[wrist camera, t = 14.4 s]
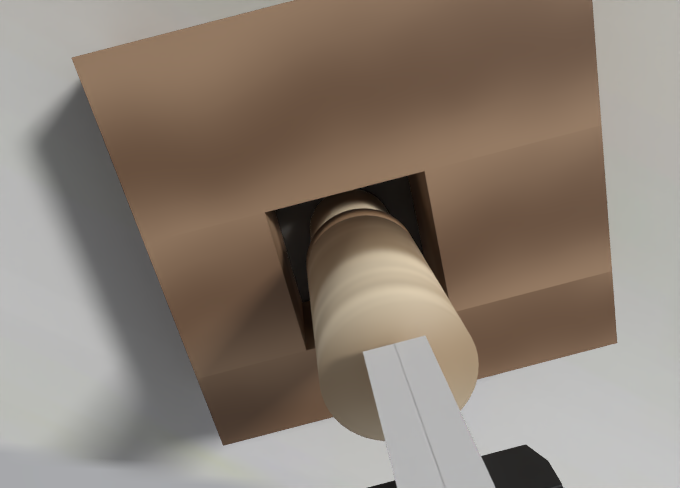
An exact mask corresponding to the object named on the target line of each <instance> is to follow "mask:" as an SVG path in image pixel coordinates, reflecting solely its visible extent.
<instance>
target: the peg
mask: <svg viewBox="0 0 680 488" xmlns="http://www.w3.org/2000/svg"><path fill="white" fill-rule="evenodd" d="M310 238H311V242H310V244H309V247H308V251H307V256H306V268H307V277H308V286H309V295H310V304H311V313H312V322H313V331H314V339H315V348H316V357H317V366H318V375H319V384H320V390H321V394H322V398H323V400H324V403H325V405H326V407H327V408H328V410H329V412H330V413H331V414H332V415H333V417H334V418H335V419H336V420H337V421H338V422H339V423H340V424H341V425H343V426H344V427H345V428H347V429H348V430H350V431H352V432H354V433H356V434H358V435H360V436H363V437H366V438H370V439H374V440H380V441H385V438H384V434H383V430H382V426H381V422H380V418H379V414H378V410H377V406H376V402H375V398H374V394H373V390H372V386H371V382H370V378H369V374H368V370H367V367H366V363H365V359H364V355H363V352H364V351H368V350H371V349H375V348H379V347H383V346H387V345H391V344H394V343H398V342H402V341H406V340H410V339H414V338H418V337H421V336H426V338H427V340H428V342H429V344H430V346H431V349H432V351H433V353H434V355H435V357H436V359H437V362H438V364H439V366H440V368H441V370H442V372H443V375H444V377H445V379H446V381H447V383H448V386H449V388H450V390H451V392H452V394H453V396H454V399H455V401H456V403H457V405H458V407H459V409H460V410H461V409H462V408H463V407H464V406H465V404H466V403H467V401H468V400H469V398H470V396H471V394H472V392H473V390H474V387H475V384H476V381H477V376H478V367H479V362H478V354H477V350H476V346H475V344H474V342H473V339H472V337H471V336H470V334H469V332H468V331H467V329H466V327H465V326H464V324H463V322H462V321H461V319H460V317H459V316H458V314H457V312H456V311H455V309H454V307H453V305H452V304H451V302H450V300H449V299H448V297H447V295H446V294H445V292H444V290H443V289H442V287H441V285H440V284H439V282H438V280H437V279H436V277H435V275H434V274H433V272H432V270H431V269H430V267H429V265H428V264H427V262H426V260H425V259H424V257H423V255H422V254H421V252H420V250H419V249H418V247H417V245H416V244H415V242H414V240H413V239H412V237H411V235H410V234H409V232H408V230H407V229H406V228H405V226H404V225H403V224H402V223H401V222H400V221H399V220H397V219H396V218H394V217H393V216H391V215H390V214H389V213H388V211H387V209H386V207H385V206H384V204H383V203H382V202H381V201H380V200H379V199H378V198H377V197H376V196H374V195H373V194H371V193H369V192H367V191H364V190H360V189H354V190H350V191H346V192H342V193H338V194H334V195H330V196H327V197H325V198H324V199H323V200H322V201H321V202H320V203H319V204H318V205H317V207H316V208H315V210H314V212H313V214H312V217H311V220H310Z"/></svg>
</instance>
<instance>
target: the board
mask: <svg viewBox="0 0 680 488" xmlns="http://www.w3.org/2000/svg"><path fill="white" fill-rule="evenodd" d="M72 60H73V63H74V65H75V68H76V70H77V73H78V76H79V78H80V81H81V83H82V86H83V88H84V91H85V93H86V96H87V99H88V101H89V104H90V106H91V109H92V111H93V114H94V116H95V119H96V122H97V124H98V127H99V129H100V132H101V134H102V137H103V139H104V142H105V145H106V147H107V150H108V152H109V155H110V157H111V160H112V162H113V165H114V168H115V170H116V173H117V175H118V178H119V180H120V183H121V186H122V188H123V191H124V193H125V196H126V198H127V201H128V203H129V206H130V209H131V211H132V214H133V216H134V219H135V221H136V224H137V226H138V229H139V232H140V234H141V237H142V239H143V242H144V244H145V247H146V249H147V252H148V255H149V257H150V260H151V262H152V265H153V267H154V270H155V272H156V275H157V278H158V280H159V283H160V285H161V288H162V290H163V293H164V295H165V298H166V301H167V303H168V306H169V308H170V311H171V313H172V316H173V318H174V321H175V324H176V326H177V329H178V331H179V334H180V336H181V339H182V341H183V344H184V347H185V349H186V352H187V354H188V357H189V359H190V362H191V364H192V367H193V370H194V372H195V375H196V377H197V380H198V382H199V385H200V387H201V390H202V393H203V395H204V398H205V400H206V403H207V405H208V408H209V410H210V413H211V416H212V418H213V421H214V423H215V426H216V428H217V431H218V433H219V436H220V439H221V441H222V444H223V446H224V445H228V444H231V443H235V442H239V441H243V440H247V439H251V438H254V437H258V436H262V435H266V434H270V433H274V432H277V431H281V430H285V429H289V428H293V427H297V426H300V425H304V424H308V423H312V422H316V421H320V420H323V419H327V418H331V417H333V415H332V414H331V413H330V412H329V410H328V408H327V407H326V405H325V403H324V400H323V398H322V394H321V390H320V384H319V375H318V366H317V357H316V348H315V339H314V331H313V322H312V313H311V304H310V301H306V302H303V303H302V300H301V297H300V293H299V290H298V287H297V283H296V280H295V277H294V273H293V270H292V266H291V263H290V260H289V256H288V253H287V249H286V246H285V243H284V239H283V236H282V233H281V229H280V226H279V222H278V219H277V216H276V212H275V210H276V209H280V208H284V207H288V206H292V205H296V204H300V203H303V202H307V201H311V200H315V199H319V198H323V197H327V196H330V195H334V194H338V193H342V192H346V191H350V190H354V189H357V188H361V187H365V186H369V185H373V184H377V183H381V182H384V181H388V180H392V179H396V178H400V177H404V176H408V180H409V185H410V190H411V194H412V199H413V204H414V209H415V214H416V219H417V224H418V229H419V234H420V239H421V244H422V249H423V254H424V259H425V260H426V262H427V264H428V265H429V267H430V269H431V270H432V272H433V274H434V275H435V277H436V279H437V280H438V282H439V284H440V285H441V287H442V289H443V290H444V292H445V294H446V295H447V297H448V299H449V300H450V302H451V304H452V305H453V307H454V309H455V311H456V312H457V314H458V316H459V317H460V319H461V321H462V322H463V324H464V326H465V327H466V329H467V331H468V332H469V334H470V336H471V337H472V339H473V342H474V344H475V346H476V350H477V354H478V362H479V367H478V376H477V379H481V378H484V377H488V376H492V375H496V374H500V373H504V372H507V371H511V370H515V369H519V368H523V367H527V366H530V365H534V364H538V363H542V362H546V361H550V360H553V359H557V358H561V357H565V356H569V355H573V354H576V353H580V352H584V351H588V350H592V349H596V348H599V347H603V346H607V345H611V344H615V343H617V333H616V320H615V306H614V292H613V279H612V265H611V251H610V238H609V224H608V210H607V196H606V183H605V169H604V155H603V142H602V128H601V114H600V101H599V87H598V73H597V60H596V46H595V32H594V18H593V5H592V0H294V1H290V2H286V3H282V4H278V5H274V6H271V7H267V8H263V9H259V10H255V11H251V12H247V13H243V14H239V15H236V16H232V17H228V18H224V19H220V20H216V21H212V22H208V23H205V24H201V25H197V26H193V27H189V28H185V29H181V30H177V31H173V32H170V33H166V34H162V35H158V36H154V37H150V38H146V39H142V40H138V41H135V42H131V43H127V44H123V45H119V46H115V47H111V48H107V49H104V50H100V51H96V52H92V53H88V54H84V55H80V56H76V57H72Z"/></svg>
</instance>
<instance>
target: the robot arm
mask: <svg viewBox="0 0 680 488" xmlns="http://www.w3.org/2000/svg"><path fill="white" fill-rule="evenodd" d="M363 355H364V359H365V363H366V367H367V370H368V374H369V378H370V382H371V386H372V390H373V394H374V398H375V402H376V406H377V410H378V414H379V418H380V422H381V426H382V430H383V434H384V438H385V442H386V446H387V450H388V454H389V458H390V462H391V465H392V469H393V473H394V477H395V481H391V482H387V483H384V484H380V485H376V486H372V487H368V488H563V486H562V483H561V482H560V480H559V478H558V477H557V475H556V473H555V472H554V470H553V468H552V467H551V465H550V463H549V462H548V461H547V460H546V459H545V458H543V457H542V456H541V455H539V454H538V453H537V452H535V451H534V450H533V449H531V448H530V447H528V446H527V445H522V446H518V447H514V448H511V449H507V450H503V451H499V452H495V453H491V454H488V455H484V456H481V455H480V453H479V451H478V449H477V446H476V444H475V442H474V440H473V438H472V436H471V433H470V431H469V429H468V427H467V425H466V422H465V420H464V418H463V416H462V414H461V412H460V409H459V407H458V405H457V403H456V401H455V399H454V396H453V394H452V392H451V390H450V388H449V386H448V383H447V381H446V379H445V377H444V375H443V372H442V370H441V368H440V366H439V364H438V362H437V359H436V357H435V355H434V353H433V351H432V349H431V346H430V344H429V342H428V340H427V338H426V336H421V337H418V338H414V339H410V340H406V341H402V342H398V343H394V344H391V345H387V346H383V347H379V348H375V349H371V350H368V351H364V352H363Z"/></svg>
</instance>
